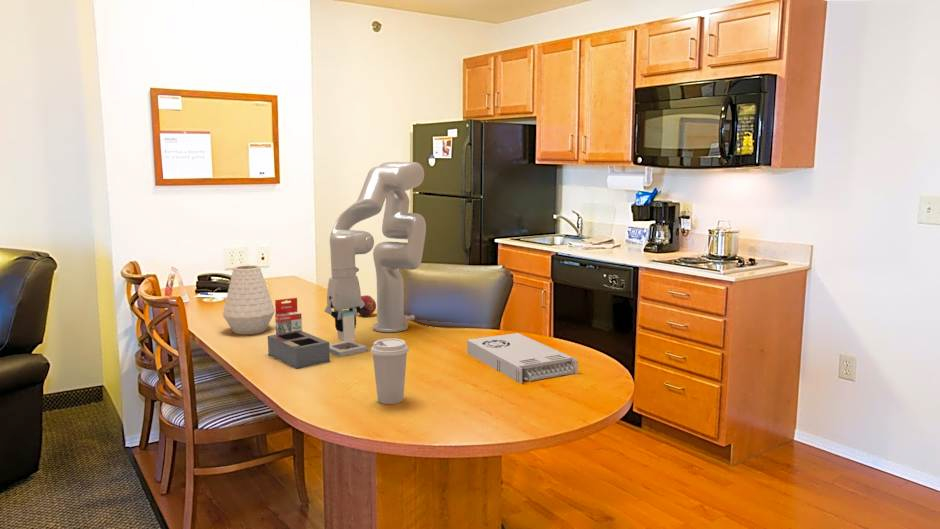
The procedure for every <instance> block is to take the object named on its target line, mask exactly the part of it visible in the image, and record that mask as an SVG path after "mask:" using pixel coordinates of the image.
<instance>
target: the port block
mask: <svg viewBox="0 0 940 529" xmlns="http://www.w3.org/2000/svg"><path fill="white" fill-rule="evenodd" d="M329 344H330V342H329V341H327V340H325V339H324V338H323V339H322V338H320V337H318V336H315V335H313V334H311V333H309V332H305V331H303V330H302V331H301V330H298V331H292V332H287V333H281V334H276V333H275V334H272V335H267V352H268V355H269V356H270V357H272V358H275V360H276V359H277V360H278V361H280V362H283V363H284V364H286V365H288V366H290V367H291V368H294V369H296V370H297V369H302V368H306V367H310V366H311V367H312V366H316V365H319V364H320V363H321V364H324V363H325V364H326V363H328V362H330V361H331V357H330V356H331V353H330V347H329ZM315 364H316V365H315Z"/></svg>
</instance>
